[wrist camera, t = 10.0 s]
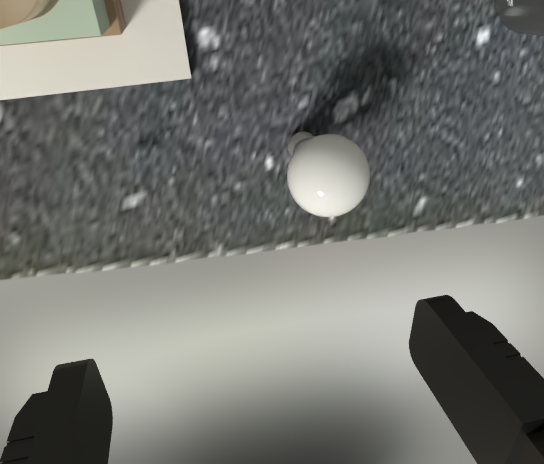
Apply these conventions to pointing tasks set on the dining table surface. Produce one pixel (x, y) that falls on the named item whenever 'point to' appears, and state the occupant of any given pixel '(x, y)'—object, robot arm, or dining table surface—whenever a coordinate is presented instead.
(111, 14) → the walnut block
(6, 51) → the base board
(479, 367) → the robot arm
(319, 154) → the lightbulb
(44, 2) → the birch cylinder
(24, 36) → the sage block
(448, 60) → the dining table surface
